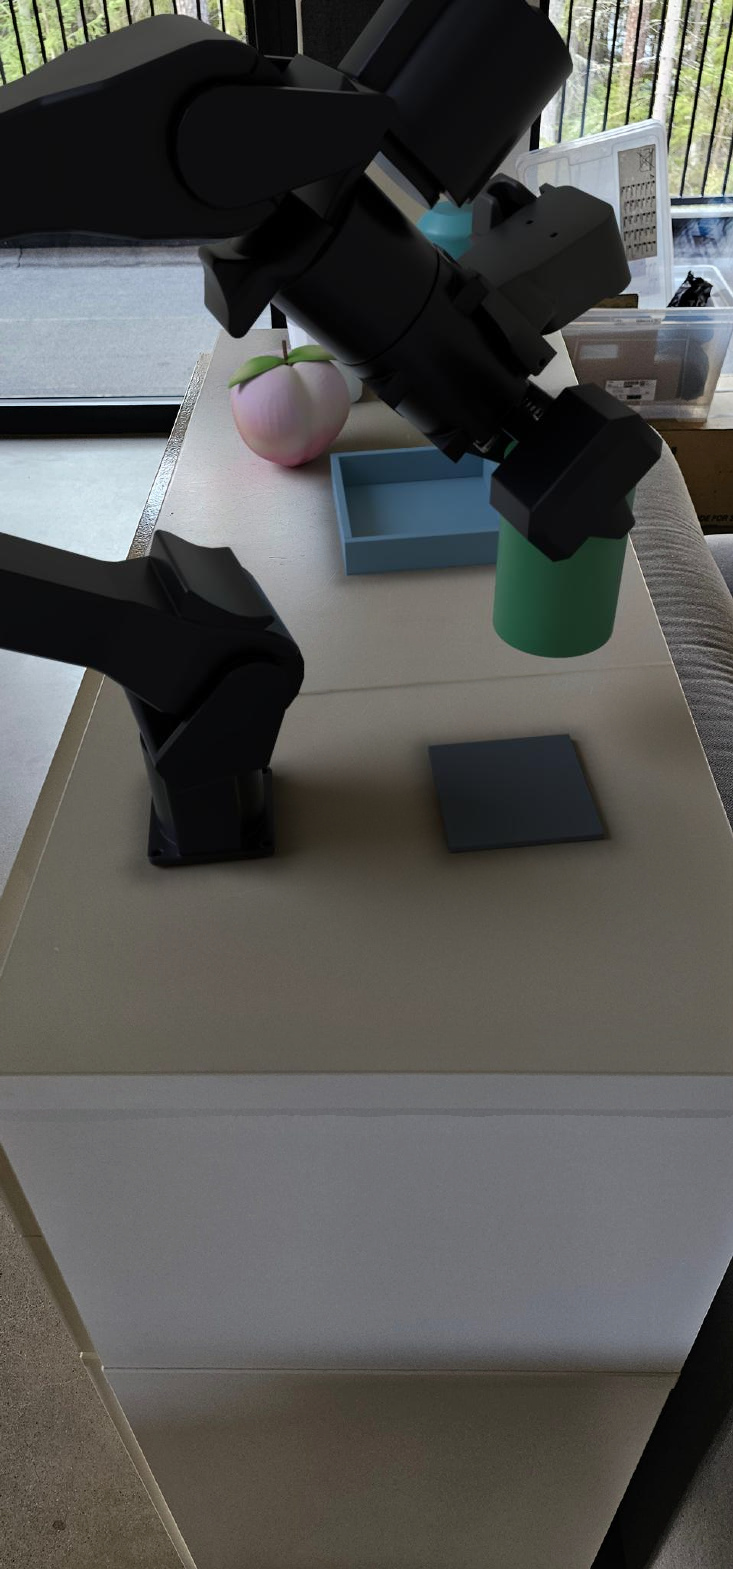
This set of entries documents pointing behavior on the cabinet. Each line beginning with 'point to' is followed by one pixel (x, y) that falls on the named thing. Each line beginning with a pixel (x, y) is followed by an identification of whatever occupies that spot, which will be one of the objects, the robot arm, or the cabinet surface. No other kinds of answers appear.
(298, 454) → the decorative fruit
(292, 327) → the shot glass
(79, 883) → the cabinet surface
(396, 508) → the tray
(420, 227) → the beverage bottle
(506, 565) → the green bottle
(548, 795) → the mat
